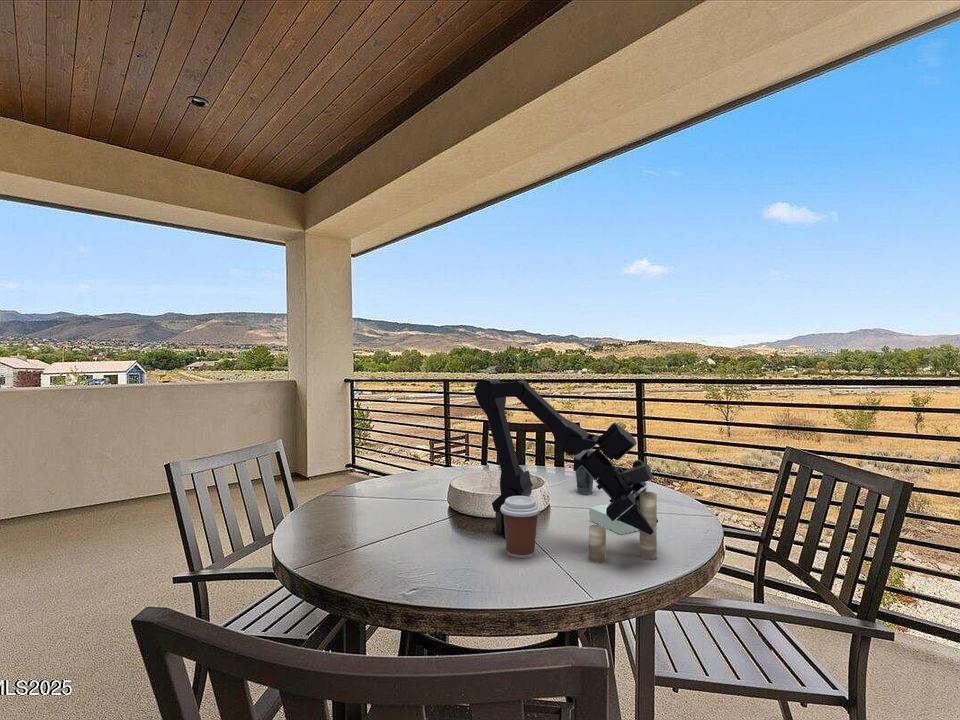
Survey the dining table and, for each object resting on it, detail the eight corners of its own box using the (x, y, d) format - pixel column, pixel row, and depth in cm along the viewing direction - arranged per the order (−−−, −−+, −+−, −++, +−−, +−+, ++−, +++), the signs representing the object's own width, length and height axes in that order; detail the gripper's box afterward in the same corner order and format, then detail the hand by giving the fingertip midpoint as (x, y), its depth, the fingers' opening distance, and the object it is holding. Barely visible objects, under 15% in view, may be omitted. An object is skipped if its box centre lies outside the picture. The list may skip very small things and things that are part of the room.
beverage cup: (594, 490, 165) (594, 430, 164) (597, 496, 157) (597, 433, 157) (572, 489, 165) (572, 429, 165) (574, 495, 158) (574, 433, 158)
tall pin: (648, 561, 108) (648, 496, 108) (636, 555, 111) (636, 492, 111) (660, 557, 110) (660, 494, 110) (648, 552, 113) (648, 490, 113)
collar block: (620, 534, 124) (620, 520, 124) (589, 520, 135) (589, 507, 134) (656, 527, 129) (656, 513, 129) (623, 514, 140) (623, 501, 140)
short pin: (596, 563, 107) (596, 531, 107) (585, 557, 110) (585, 526, 110) (609, 560, 108) (609, 528, 108) (598, 554, 111) (598, 523, 111)
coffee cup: (493, 548, 115) (493, 497, 115) (528, 542, 119) (527, 492, 119) (512, 563, 107) (512, 508, 107) (548, 556, 111) (548, 502, 111)
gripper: (621, 458, 104) (678, 518, 99) (636, 443, 120) (685, 494, 115) (584, 491, 107) (637, 551, 102) (604, 472, 124) (650, 523, 119)
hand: (654, 528), depth 110 cm, fingers open, 7 cm apart
